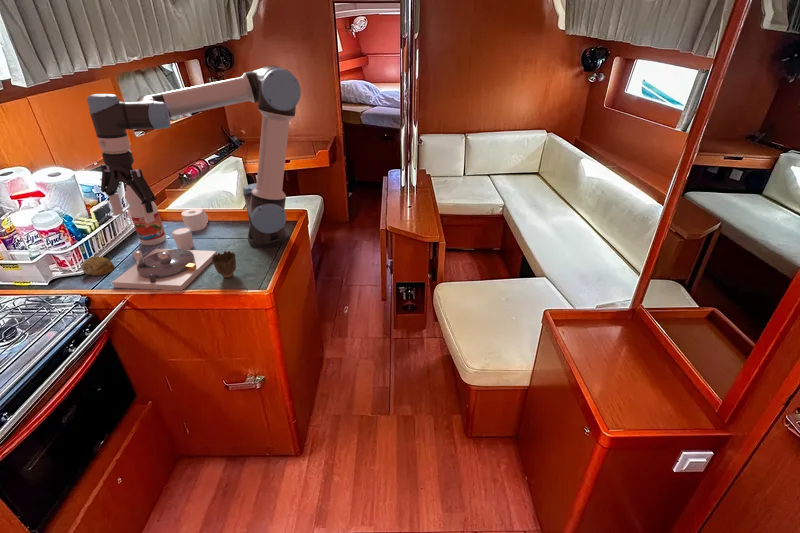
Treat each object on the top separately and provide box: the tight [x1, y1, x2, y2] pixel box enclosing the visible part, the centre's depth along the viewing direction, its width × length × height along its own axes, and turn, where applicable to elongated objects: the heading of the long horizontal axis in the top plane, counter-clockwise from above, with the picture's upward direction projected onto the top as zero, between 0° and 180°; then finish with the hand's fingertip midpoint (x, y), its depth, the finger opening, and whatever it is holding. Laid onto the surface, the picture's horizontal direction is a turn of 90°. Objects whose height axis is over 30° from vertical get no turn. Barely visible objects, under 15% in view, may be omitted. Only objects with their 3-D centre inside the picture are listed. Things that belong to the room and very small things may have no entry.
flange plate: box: [132, 248, 197, 278], centre depth 146 cm, size 18×20×7 cm
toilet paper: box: [181, 206, 209, 232], centre depth 181 cm, size 8×11×7 cm
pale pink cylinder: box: [171, 226, 195, 250], centre depth 164 cm, size 7×7×7 cm
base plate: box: [111, 248, 218, 291], centre depth 148 cm, size 24×24×5 cm
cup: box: [212, 250, 237, 279], centre depth 143 cm, size 8×7×8 cm
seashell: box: [81, 255, 116, 277], centre depth 148 cm, size 10×7×8 cm
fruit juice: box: [124, 179, 167, 247], centre depth 163 cm, size 9×9×28 cm
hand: (134, 218), depth 134 cm, fingers open, 13 cm apart
